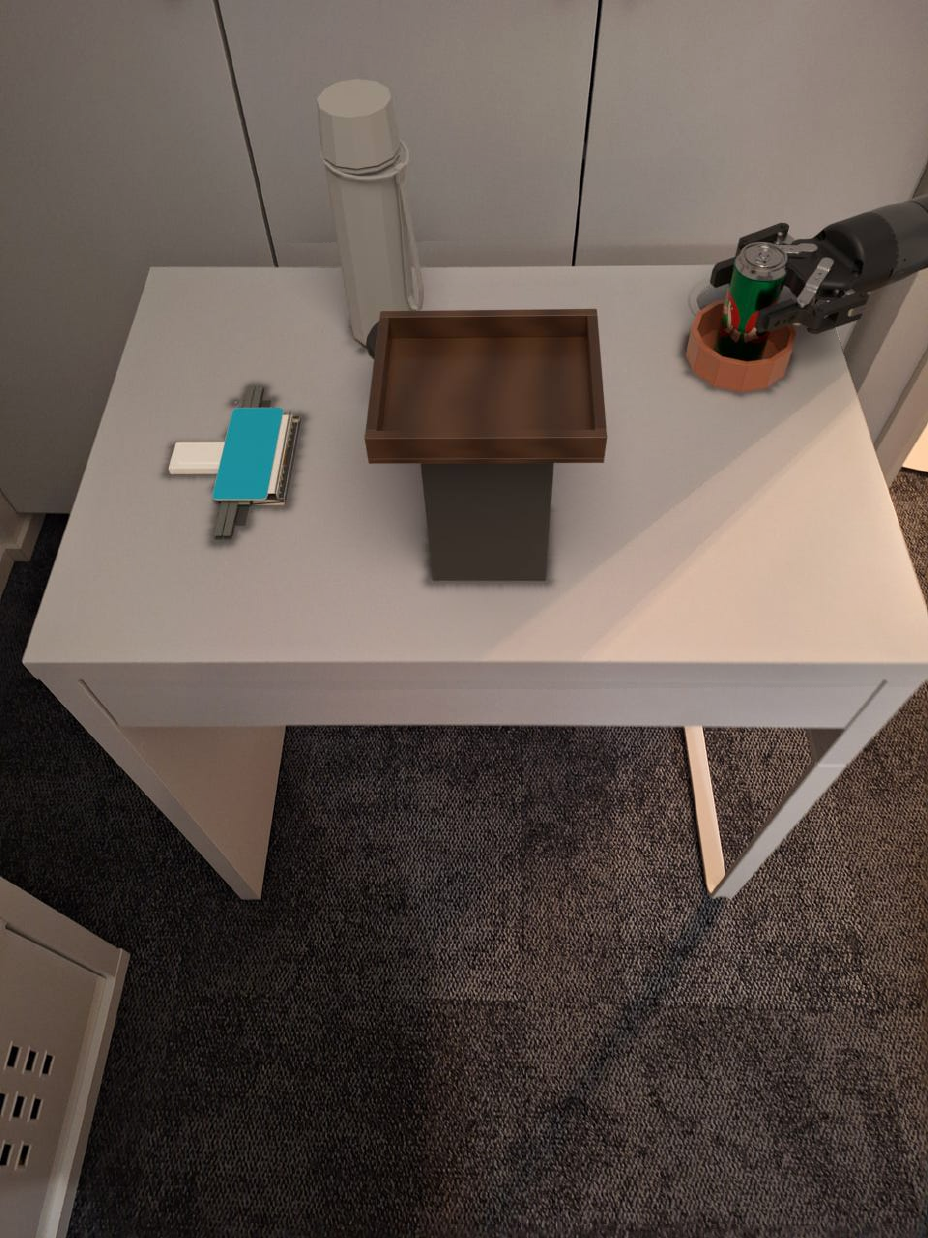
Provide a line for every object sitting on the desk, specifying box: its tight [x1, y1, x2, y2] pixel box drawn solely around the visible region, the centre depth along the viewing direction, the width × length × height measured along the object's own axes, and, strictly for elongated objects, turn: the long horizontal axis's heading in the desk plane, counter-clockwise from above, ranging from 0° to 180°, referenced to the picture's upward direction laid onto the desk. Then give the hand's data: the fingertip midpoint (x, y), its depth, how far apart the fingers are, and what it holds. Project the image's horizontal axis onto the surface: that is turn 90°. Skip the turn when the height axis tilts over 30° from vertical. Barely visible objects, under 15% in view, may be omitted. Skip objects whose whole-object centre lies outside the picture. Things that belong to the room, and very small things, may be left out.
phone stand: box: [168, 384, 302, 541], centre depth 90 cm, size 20×12×2 cm, turn 178°
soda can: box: [713, 242, 789, 362], centre depth 91 cm, size 5×5×12 cm
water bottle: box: [316, 78, 425, 347], centre depth 89 cm, size 9×8×25 cm
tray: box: [364, 308, 608, 465], centre depth 67 cm, size 17×14×2 cm
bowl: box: [685, 299, 798, 393], centre depth 94 cm, size 10×10×4 cm
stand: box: [420, 463, 555, 582], centre depth 76 cm, size 10×8×18 cm
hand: (735, 299), depth 89 cm, fingers open, 7 cm apart
